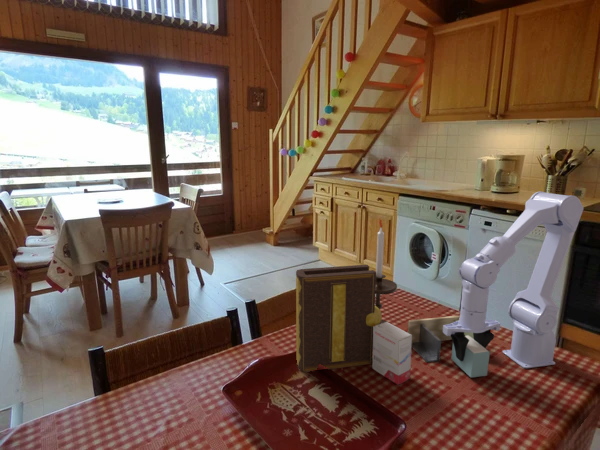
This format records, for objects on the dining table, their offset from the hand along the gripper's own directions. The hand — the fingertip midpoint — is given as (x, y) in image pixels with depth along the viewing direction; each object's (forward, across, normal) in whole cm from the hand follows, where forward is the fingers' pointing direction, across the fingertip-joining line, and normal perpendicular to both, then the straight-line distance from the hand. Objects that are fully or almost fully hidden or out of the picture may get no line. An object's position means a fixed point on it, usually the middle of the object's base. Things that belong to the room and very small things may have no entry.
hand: (468, 357), depth 93 cm
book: (+3, +31, -10) cm, 33 cm away
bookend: (+3, +7, -9) cm, 12 cm away
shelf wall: (+3, 0, -14) cm, 15 cm away
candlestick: (+3, +14, -25) cm, 29 cm away
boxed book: (+2, 0, 0) cm, 2 cm away
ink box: (+3, +20, -2) cm, 20 cm away
